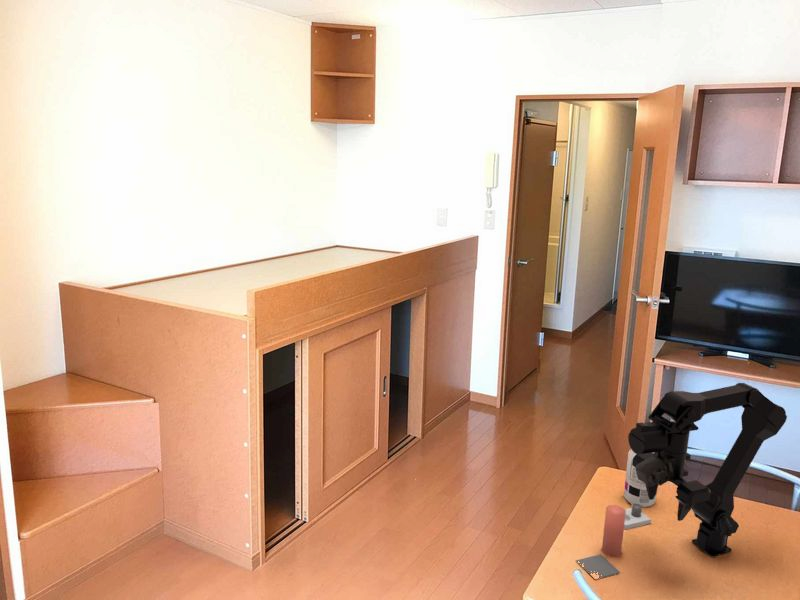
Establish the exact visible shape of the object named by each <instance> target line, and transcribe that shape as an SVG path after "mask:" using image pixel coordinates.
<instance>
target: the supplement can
mask: <svg viewBox="0 0 800 600" xmlns="http://www.w3.org/2000/svg"><path fill="white" fill-rule="evenodd" d="M653 453H654V452H653ZM635 455H636V453H634V452H633V451H632V449H631V448H630V449H629V451H628V454H627V461H626V462H627V463H626V471H625V478H624V479H625V481H624V489H623V497H624V498H625V500H626V501H627V502H628V503H630V504H631V505H632V504H640V505H641V506H642V508H648V507H651V506H652V505H654V504H655V503H656V501H657V494H658V491H657V492H656V494H655V497H654V499H653V500H650V499H649V497H648V493H647V489H646V485H645V483H644V482H642V481H641V480H639V479H638V477H637V473H636V468H635V467H634V466H633V465H632V462H633V457H634V456H635Z"/></svg>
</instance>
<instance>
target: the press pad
mask: <svg viewBox="0 0 800 600" xmlns="http://www.w3.org/2000/svg"><path fill="white" fill-rule="evenodd" d="M576 561H577V562H578V561H579V562H580V563H579V564H581V566H582V564H583V563H584V564H583V565H584V567H583V568H584V569H585V570H586V571H587V572H588V573H589V574H591V573H592V574H593V573H595V574H596V573H597V572H598V575H599V578H601V577H605V578H607V577H606V576H609V577H611V575H613V576H616V575H620V574H621V571H620V570H619V569H617V567H616V566H614V564H612V563H611V562H610V561H609V560H608V559H607V558H606V557H604V555H603V554H601V553H600V554H596V555H592V556H587V557H584V558H580V559H576V560H575V562H576ZM577 562H576V563H577ZM579 564H578V565H579ZM581 566H580V567H581ZM583 568H582V569H583ZM584 569H583V570H584ZM585 570H584V571H585ZM586 571H585V572H586ZM591 571H592V572H591ZM594 571H595V572H594ZM587 572H586V573H587ZM588 573H587V574H588ZM619 573H620V574H619ZM589 574H588V575H589ZM615 574H616V575H615ZM596 575H597V574H596ZM601 575H602V576H601ZM601 579H602V578H601Z"/></svg>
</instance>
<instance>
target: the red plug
mask: <svg viewBox="0 0 800 600" xmlns="http://www.w3.org/2000/svg"><path fill="white" fill-rule="evenodd" d="M625 509H626V508H624V507H622V506H620V505H617V504H610V505H607V506H606V507H605V517H604V525H603V526H604V528H603V537H602V545H601V551H602V552H603V554H605V555H607V556H608V555H609V556H608V557H612V556H613V557H614V558H615V557H616V558H617V557H620V556H621V555H622V549H623V540H624V539H623V538H624V530H625V529H624V523H625V514H626V511H625Z"/></svg>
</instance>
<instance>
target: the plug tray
mask: <svg viewBox="0 0 800 600" xmlns="http://www.w3.org/2000/svg"><path fill="white" fill-rule="evenodd" d="M624 509H625V511H626V514H625V523H624V530H629V529H634V528H637V527H640V526H646V525H650V524H651V522H652V519H651V518H650V517H649V516H647V515H646V514H645V513H644V512H642V511H643V507H642V506H641V505H640V504H631V507H629V508H624Z"/></svg>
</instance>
